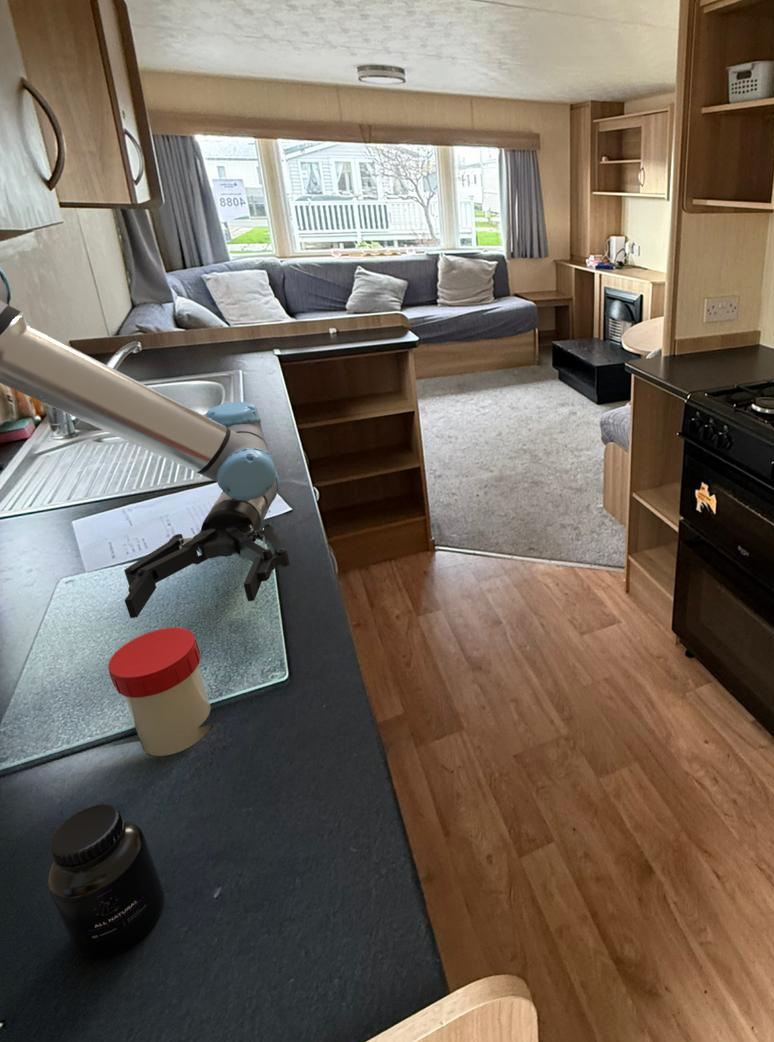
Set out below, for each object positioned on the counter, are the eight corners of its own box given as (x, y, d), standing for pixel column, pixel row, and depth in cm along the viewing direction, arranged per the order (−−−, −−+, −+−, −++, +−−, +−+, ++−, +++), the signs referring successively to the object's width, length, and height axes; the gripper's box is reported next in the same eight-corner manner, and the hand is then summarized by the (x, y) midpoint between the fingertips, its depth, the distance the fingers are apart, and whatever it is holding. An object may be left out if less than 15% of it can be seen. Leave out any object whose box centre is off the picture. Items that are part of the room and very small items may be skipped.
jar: (140, 766, 75) (111, 689, 70) (143, 722, 81) (117, 648, 76) (215, 738, 78) (192, 663, 74) (213, 698, 84) (191, 626, 80)
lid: (153, 705, 71) (146, 684, 70) (97, 688, 73) (89, 668, 72) (216, 654, 78) (211, 634, 77) (163, 640, 81) (157, 621, 80)
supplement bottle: (123, 970, 56) (80, 876, 51) (56, 954, 57) (8, 861, 52) (184, 888, 62) (150, 799, 57) (122, 876, 63) (85, 787, 58)
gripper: (323, 530, 106) (300, 609, 87) (152, 551, 101) (88, 640, 81) (315, 489, 103) (290, 561, 84) (139, 508, 98) (69, 590, 79)
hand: (190, 600), depth 83 cm, fingers open, 13 cm apart
